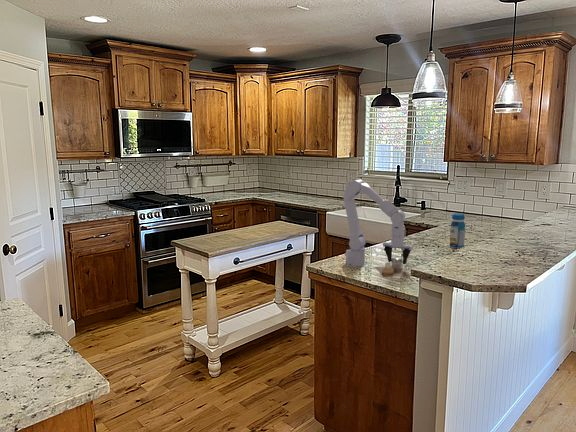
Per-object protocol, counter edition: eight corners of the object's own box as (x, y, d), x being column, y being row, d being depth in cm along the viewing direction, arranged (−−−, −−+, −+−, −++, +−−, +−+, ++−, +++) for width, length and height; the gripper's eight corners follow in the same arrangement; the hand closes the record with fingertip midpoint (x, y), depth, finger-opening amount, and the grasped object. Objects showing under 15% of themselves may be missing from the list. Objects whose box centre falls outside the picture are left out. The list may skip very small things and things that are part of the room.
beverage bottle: (464, 249, 259) (466, 215, 256) (449, 248, 262) (450, 215, 259) (464, 246, 267) (465, 213, 264) (449, 245, 270) (450, 212, 267)
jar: (383, 274, 209) (383, 264, 208) (380, 271, 214) (381, 262, 213) (394, 274, 209) (395, 264, 208) (391, 271, 214) (391, 261, 214)
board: (383, 279, 206) (383, 276, 206) (374, 269, 223) (374, 266, 223) (411, 278, 207) (411, 275, 207) (400, 268, 224) (400, 265, 223)
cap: (393, 269, 217) (393, 260, 216) (390, 267, 222) (390, 257, 221) (403, 269, 217) (403, 260, 216) (400, 266, 222) (400, 257, 221)
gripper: (415, 235, 215) (414, 262, 218) (387, 232, 224) (386, 258, 226) (409, 238, 210) (408, 266, 212) (381, 234, 219) (380, 261, 221)
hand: (397, 262), depth 219 cm, fingers open, 7 cm apart
